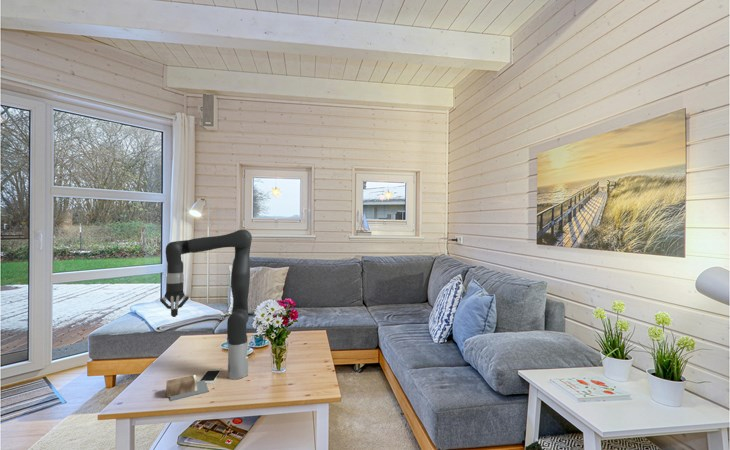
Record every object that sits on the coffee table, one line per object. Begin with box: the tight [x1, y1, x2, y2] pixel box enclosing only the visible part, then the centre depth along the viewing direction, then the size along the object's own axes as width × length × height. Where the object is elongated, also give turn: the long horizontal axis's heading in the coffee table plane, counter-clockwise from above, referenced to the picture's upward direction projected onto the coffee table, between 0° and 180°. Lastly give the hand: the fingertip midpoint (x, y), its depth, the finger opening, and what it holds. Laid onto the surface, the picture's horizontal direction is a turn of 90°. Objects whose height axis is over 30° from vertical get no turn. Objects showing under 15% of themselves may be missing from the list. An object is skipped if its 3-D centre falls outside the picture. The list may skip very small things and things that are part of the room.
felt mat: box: [169, 380, 210, 402], centre depth 156 cm, size 16×13×1 cm
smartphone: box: [199, 368, 223, 385], centre depth 171 cm, size 7×16×1 cm, turn 7°
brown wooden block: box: [165, 374, 198, 398], centre depth 155 cm, size 5×6×12 cm
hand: (174, 316), depth 166 cm, fingers closed
